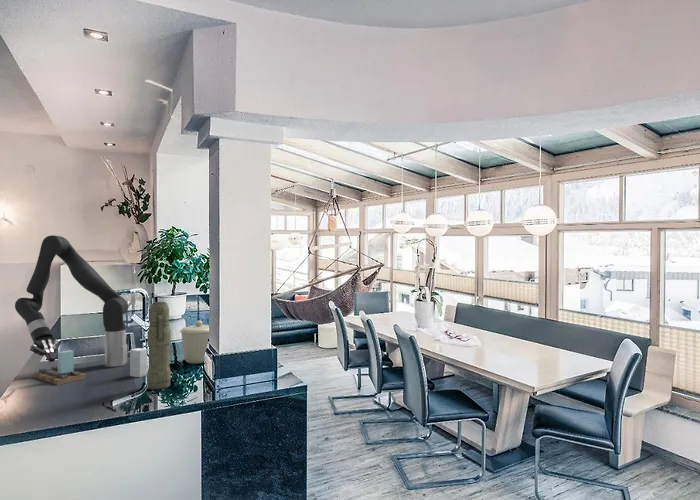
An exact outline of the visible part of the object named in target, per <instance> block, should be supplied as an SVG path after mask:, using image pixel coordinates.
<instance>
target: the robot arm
mask: <svg viewBox="0 0 700 500" xmlns="http://www.w3.org/2000/svg"><path fill="white" fill-rule="evenodd" d="M56 256H57V257H58V258H60V259H61V260H62V261H63V262H64V263H65V264H66V266H67V268H68V269H69V271H70V274H71V275H72V277H73V278H74V279H75V281H76V282H77V283H78V284H79V285H80V286H81V287H83V288H84V289H85V290H87V291H89V292H90V293H91V294H94V295H95V296H97V298H99V299H100V300H101V301H102V302H103V303H104V304H103V307H102V321H103V322H102V324H103V326H104V366H105V367H107V368H109V367H110V368H114V367H121V366H122V367H123V366H125V365H126V364H128V343H127V334H126V333H127V325H126V323H125V322H124V314H126V313H127V312H128V310H129V303H128V302H127V300H126V299H125V298H124V297H123V296H121V295H120V294H119V293H118V292H117V291H115V289H113V288H112V287H111V286H110V285H109V283H108V282H107V281H106V280H105V279H104V278H103V277H102V276H101V275H100V274H99V273H98V272H97V271H96V270H95V268H94V267H93V266H92V265H90V263H88V261H86V260H85V259H84V258H83V257H82V256H81V255H80V254H79V253H78V252H77V250H76V249H75V248H74V246H72V244H71V242H70V241H69V240H68V238H65V237H64V236H61V235H53V234H52V235H48V236H45V238H43V240H42V241H41V246H40V249H39V254H38V257H37V262H36V265H35V267H34V270H33V274H32V275H31V278H30V281H29V283H28V284H27V287H26V292H27V293H28V294H31V295H32V297H20V298H18V299H17V300H16V301H15V303H14V309H15V311H16V312H17V314H18V315H19V316H20V317H21V318H22V319H23V320H24V321H25V324H26V326H27V328H28V329H27V330H28V333H29V335H30V337H31V339H32V342H33V344H32V345H31V346H30V348H29V351H31V352H33V353H34V354H37V355H39V356H41V357H43V356H45V357H46V360H47V361H48V362H49V363H52V362H55V360H56V359H57V356H56V353H57V352H58V350H59V348H60V346H61V344H62V340H56V339H55V338H54V337H53V334H52V331H51V329H50V327H49V324H48V322H46V320H45V317H44V315H43V314H42V312H40V310H41V309H42V307H43V301H44V294H45V290H46V288H47V285H48V284H49V283H48V282H49V281H50V276H51V267H52V263H53V261H54V259H55V257H56ZM54 347H55V348H54Z"/></svg>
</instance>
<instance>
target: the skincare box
mask: <svg viewBox="0 0 700 500" xmlns="http://www.w3.org/2000/svg"><path fill="white" fill-rule="evenodd" d="M147 373H148V349H147V348H142V347H141V348H140V347H137V348H133V349H130V350H129V376H130V377H133V378H134V377H135V378H142V377H145V376H147Z"/></svg>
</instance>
